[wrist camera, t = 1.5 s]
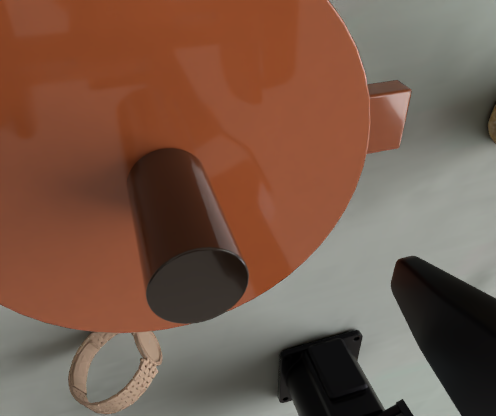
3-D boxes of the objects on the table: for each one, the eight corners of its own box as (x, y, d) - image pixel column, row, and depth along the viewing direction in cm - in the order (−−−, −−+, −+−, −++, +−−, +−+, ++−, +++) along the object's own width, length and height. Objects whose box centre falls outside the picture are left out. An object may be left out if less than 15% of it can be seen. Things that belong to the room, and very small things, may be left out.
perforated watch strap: (156, 318, 28) (170, 392, 24) (88, 357, 28) (91, 436, 24) (130, 295, 26) (141, 371, 22) (58, 337, 26) (57, 418, 22)
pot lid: (334, 267, 20) (404, 375, 16) (5, 347, 17) (-15, 507, 13) (386, -101, 12) (557, -75, 8) (-229, -72, 9) (-490, -5, 5)
